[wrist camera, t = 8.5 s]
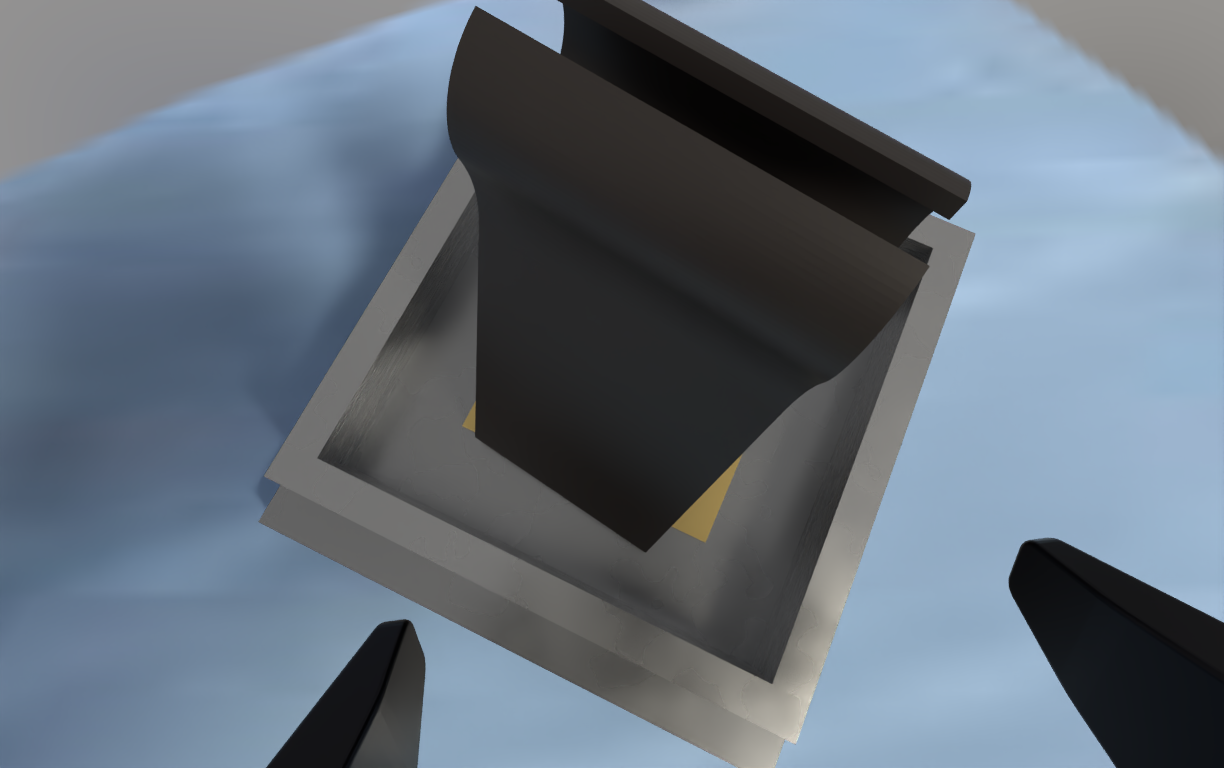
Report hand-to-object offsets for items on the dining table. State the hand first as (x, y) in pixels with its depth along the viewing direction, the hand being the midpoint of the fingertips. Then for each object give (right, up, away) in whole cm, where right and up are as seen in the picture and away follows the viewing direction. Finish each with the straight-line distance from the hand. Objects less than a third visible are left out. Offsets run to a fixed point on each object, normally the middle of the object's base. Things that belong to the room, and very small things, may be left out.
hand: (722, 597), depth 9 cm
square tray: (-1, +3, +11) cm, 11 cm away
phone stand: (-1, +3, +10) cm, 10 cm away
